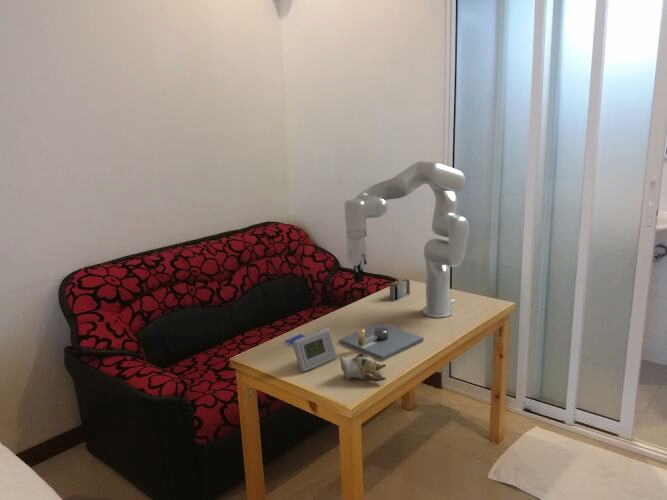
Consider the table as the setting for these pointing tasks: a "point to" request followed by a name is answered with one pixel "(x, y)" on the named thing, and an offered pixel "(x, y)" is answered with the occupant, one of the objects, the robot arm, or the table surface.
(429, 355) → the table surface
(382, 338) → the lever
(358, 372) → the ceramic sculpture
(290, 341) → the hard drive
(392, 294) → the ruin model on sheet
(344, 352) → the table surface
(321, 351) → the digital clock
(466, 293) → the table surface
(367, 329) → the dial plate
